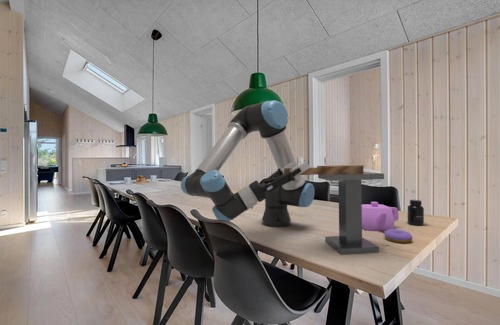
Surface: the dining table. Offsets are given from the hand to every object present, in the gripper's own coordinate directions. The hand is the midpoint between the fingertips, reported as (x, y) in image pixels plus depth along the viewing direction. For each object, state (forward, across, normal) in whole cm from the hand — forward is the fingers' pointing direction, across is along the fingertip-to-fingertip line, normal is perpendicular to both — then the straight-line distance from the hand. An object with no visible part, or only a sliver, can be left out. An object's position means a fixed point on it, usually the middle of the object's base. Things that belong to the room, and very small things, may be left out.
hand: (301, 164), depth 93 cm
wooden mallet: (+5, 0, -7) cm, 9 cm away
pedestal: (0, 0, -37) cm, 37 cm away
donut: (+20, -4, -49) cm, 53 cm away
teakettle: (+21, -23, -49) cm, 58 cm away
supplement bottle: (+41, -25, -61) cm, 78 cm away
